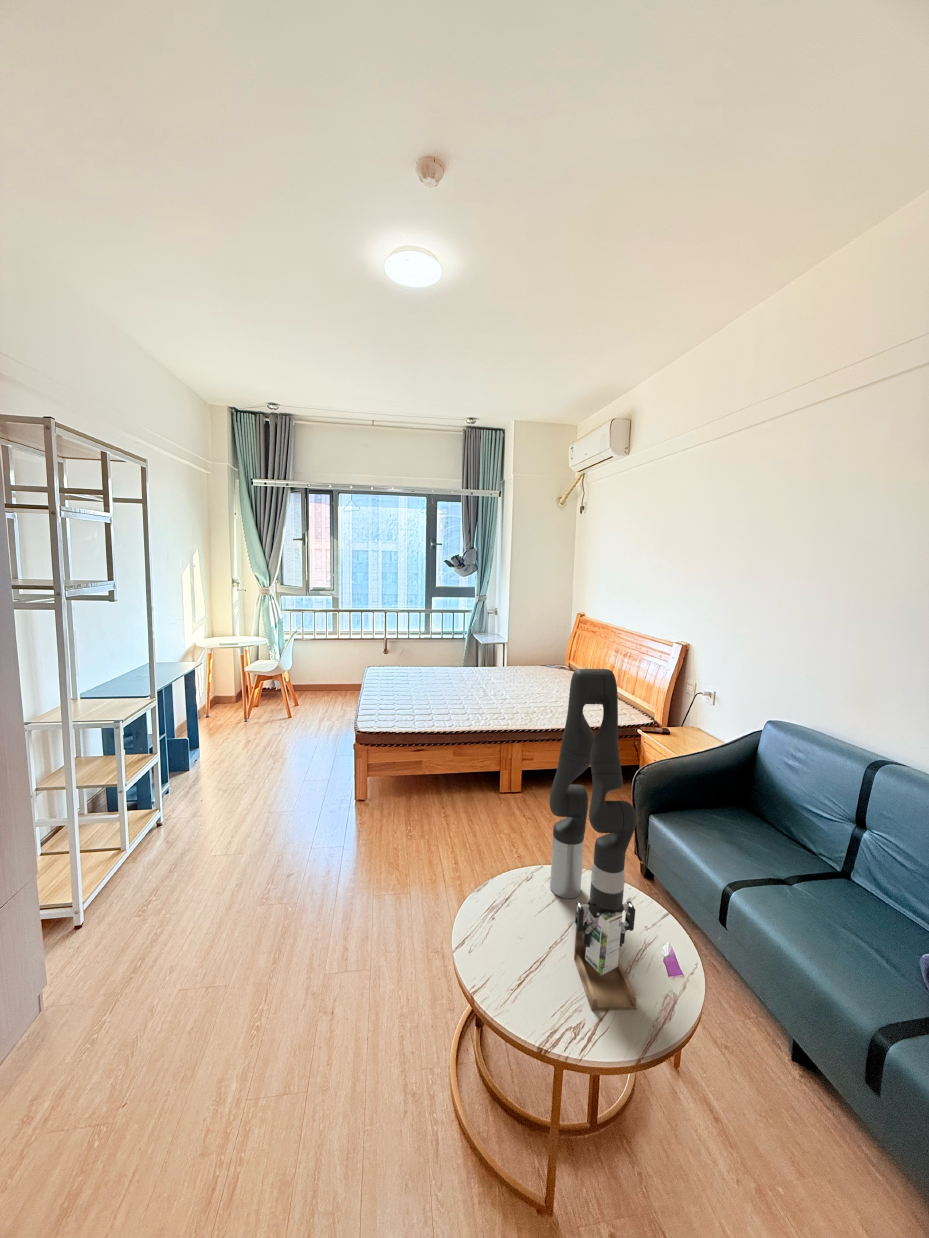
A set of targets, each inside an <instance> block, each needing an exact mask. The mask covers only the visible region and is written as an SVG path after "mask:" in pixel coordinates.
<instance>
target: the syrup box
mask: <svg viewBox="0 0 929 1238" xmlns="http://www.w3.org/2000/svg"><path fill="white" fill-rule="evenodd" d="M588 913H589V915H590V917H591V919H592V920H594V919H595V918H594V917H593V916H592V914H591V913H590V911H589V910H588ZM604 913H605V915H600V914H599V913H597V915H600V918H599V919H598V925H597V926H596V928H593V929H592V930H591V932H590V934H591V937H590V947H586V954H585V959H586V960H587V961H588V962H589V963H590V964H591V966H592V967H593V968H594V969H595V970H596V971H597V972H598V973H599V974H600V975H601V976H602V975H603V974H605V973H607V972H609V971H611V970H613V969H614V968H616V967H618V959H619V954H620V947H619V946H620V934H621V926H620V927H619V920H620V921H621V923H622V922H623V912H622V913H619V912H615V914H616V915H611V913H610V912H604Z"/></svg>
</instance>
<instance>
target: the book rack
mask: <svg viewBox="0 0 929 1238" xmlns="http://www.w3.org/2000/svg"><path fill="white" fill-rule="evenodd" d="M582 932H583V931H581V932H579V931H578V929H577V926H575V939H574V953H573V961H574V964H575V966H576V969H577V973H578V974H579V978H580V980H581V983H582V987H583V990H584V992H585V995H586V998H587V999H586V1000H587V1001H588V1005H589V1007H590V1010H591V1011H594V1010H596V1011H598V1010H599V1011H600V1010H605V1011H606V1010H635V1009H636V1010H637V997H636V995H635V993H634V990H633V988H632V986H631V983H630V981H629V979H628V977H627V974H626V972H625V970H624V968H623V965H622V963H621V961H620V959H619V958H618V967H616V968H614V969H613V970H611V971H609V972H607V973H605V974H603V975H602V976H601V975H600V974H599V973H598V972H597V971H596V970H595V969H594V968H593V967H592V966H591V964H590V963H589V962H588V961H587V960H586V959H585V954H586V945H584V942H583V939H582Z"/></svg>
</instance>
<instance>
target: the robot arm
mask: <svg viewBox="0 0 929 1238" xmlns="http://www.w3.org/2000/svg"><path fill="white" fill-rule="evenodd" d="M571 675H572V676H571V679H570V684H569V685H570V687H569V694H568V695H569V696H568V706H567V714H566V720H565V726H564V729H563V730H564V731H563V735H562V739H561V745H560V751H559V756H558V761H557V762H558V763H557V769H556V772H555V775H554V779H553V781H552V786H551V789H550V794H549V808H550V811H551V813H552V814H553V816H556V817H559V818H563V819H560V820H558V821H557V822H555V823H554V825H553V828H552V843H551V844H552V845H551V846H552V847H551V862H550V864H551V865H550V880H549V888H550V890H551V892H552V893H553V894H555V896H558V898H559V897H560V898H563V899H574V898H577V897H579V895H580V894H581V888H582V887H581V885H582V873H583V861H584V860H583V857H584V843H585V833H586V824H587V817H588V820H589V823H590V826H591V828H592V829H593V830H594V831H595V832H596V833H599V834H604V835H601V836H599V837H597V838H596V840H595V841H594V850H593V853H594V854H593V861H592V862H593V863H592V867H591V877H590V878H591V879H590V891H589V900H588V902H587V903H585V904H584V903H581V902H580V901H577V902H576V903H575V916H574V917H575V920H574V923H575V925H576V926H577V929H578V931H579V932H581V931H583V932H582V939H583V942H584V945H586V947H590V937H591V934H590V932H591V930H592V929H593V928H596V926H597V925H598V919H599V918H600V915H605V913H604V912H610V913H611V915H616V914H615V912H619V913H622V914H623V912H624V913H625V916H624V918H625V919H624V921H622V923H621V921H620V920H619V927H620V926H621V934H620V946H619V948H620V947H621V948H622V947H623V945H624V943H625V940H626V939H625V937H626V932H628V931H630V932H633V931H634V929H635V919H636V908H635V906H634V904H633V902H632V901H631V900H628V901H627V902H626V903H623V902H624V892H625V891H624V890H625V888H624V887H625V884H626V883H625V864H626V852H627V850H628V848H629V844H630V841H631V840H632V837H633V835H634V832H635V829H636V827H637V813H636V809H635V807H634V806H633V804H632V803H630V802H629V801H627V800H606V796H607V794H608V792H611V791H615V790H619V789H621V788H622V787H623V785H624V781H623V780H624V779H623V774H622V764H621V759H620V752H619V751H620V750H619V749H620V748H619V707H618V706H619V704H618V702H619V701H618V698H619V697H618V684H617V679H616V676H615V674H614V673H613V671H612V670H610V669H608V668H578V669H575V670H574V671H573V674H571ZM586 705H602V708H603V709H602V710H603V711H602V713H603V715H602V720H601V724H600V727H599V728H598V731H597V733H596V735H595V733H594V731H593V730H592V727H591V726H590V724H589V722H588V721H587V720H586V717H585V714H584V708H585V706H586ZM589 767H590V769H591V770H590V771H591V778H592V784H591V785H592V786H591V787H592V789H591V797H590V805H589V794H588V791H587V788H586V787H585V786H584V785H582V784H572V783H573V782H574V780H576V779H577V778H578V777H579V776H581V775H582V774H583V773H584V772H585V771H586V770H588V768H589ZM588 808H589V809H588ZM589 911H590V913H591V914H592V916H593V917H594V918H595V919H594V920H592V919H591V917H590V915H589ZM587 912H588V913H587ZM597 913H599V914H600V915H597ZM585 916H586V918H585V919H584V917H585ZM576 926H575V927H576Z"/></svg>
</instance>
